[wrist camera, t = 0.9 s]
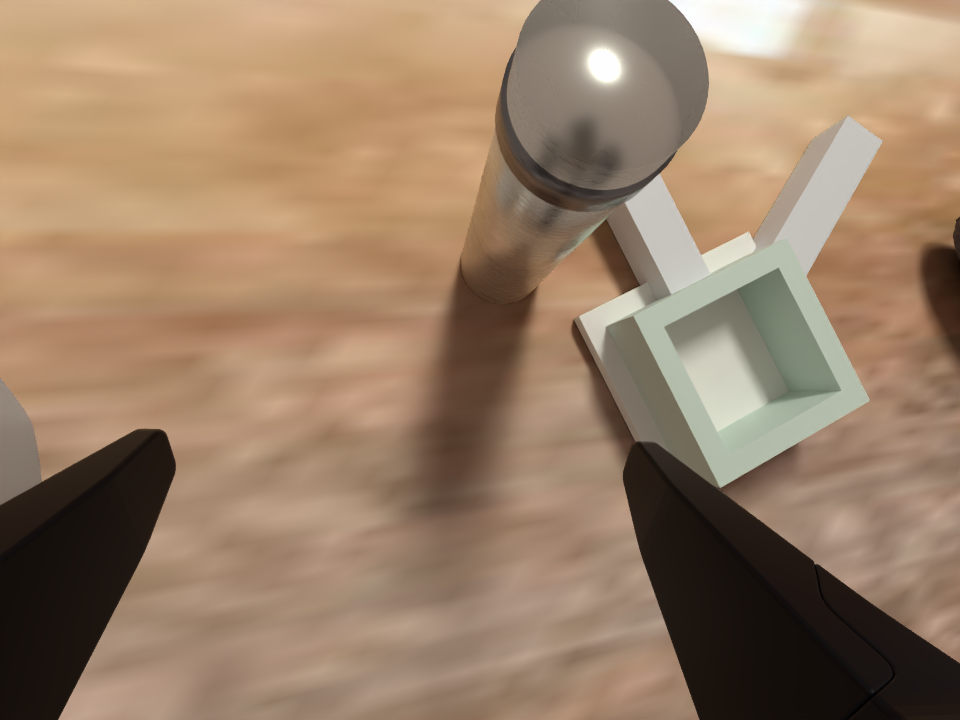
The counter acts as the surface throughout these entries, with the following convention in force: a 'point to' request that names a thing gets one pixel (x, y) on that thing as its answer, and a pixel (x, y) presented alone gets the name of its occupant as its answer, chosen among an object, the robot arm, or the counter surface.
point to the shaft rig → (731, 321)
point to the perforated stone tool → (957, 237)
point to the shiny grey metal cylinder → (579, 132)
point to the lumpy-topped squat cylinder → (16, 448)
